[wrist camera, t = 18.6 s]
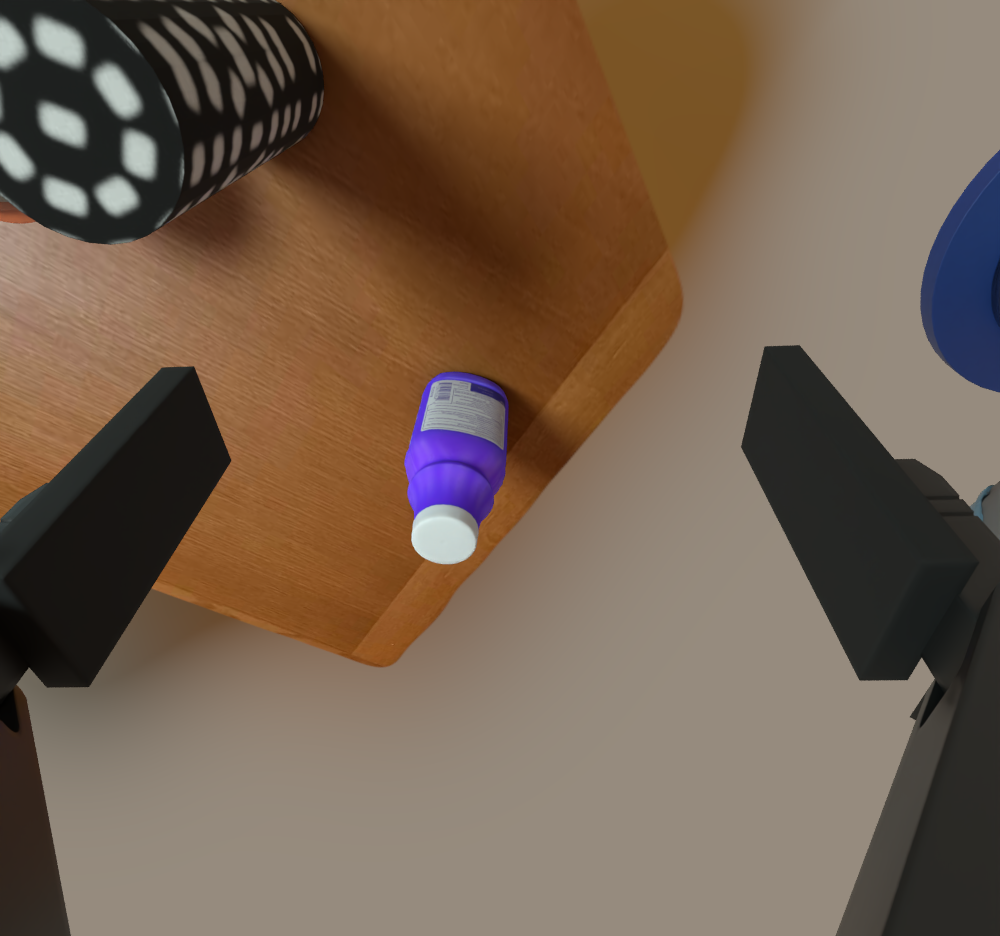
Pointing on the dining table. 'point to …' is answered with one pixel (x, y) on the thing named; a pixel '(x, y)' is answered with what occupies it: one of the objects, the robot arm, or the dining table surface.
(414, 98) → the dining table surface
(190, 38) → the white-spotted black cylinder
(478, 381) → the bottle
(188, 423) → the robot arm
